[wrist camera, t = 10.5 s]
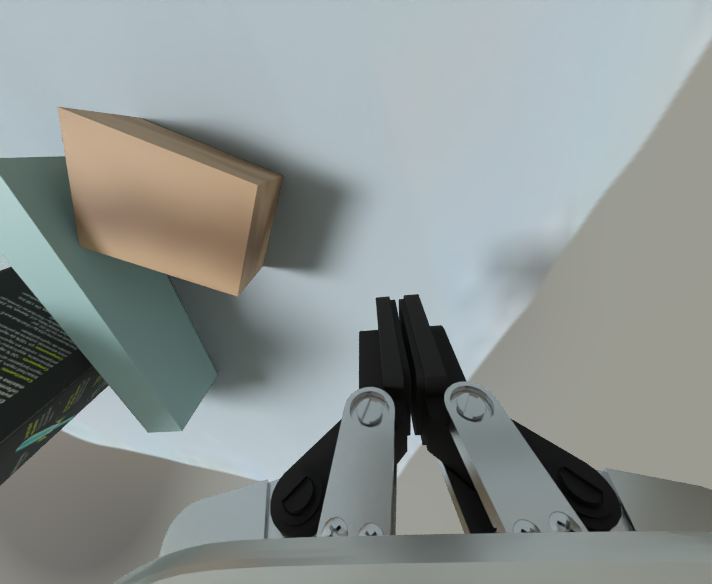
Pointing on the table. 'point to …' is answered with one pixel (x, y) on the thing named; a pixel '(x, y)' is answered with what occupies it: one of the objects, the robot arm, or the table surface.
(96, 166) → the block
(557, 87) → the table surface
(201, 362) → the board
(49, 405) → the tampon box
